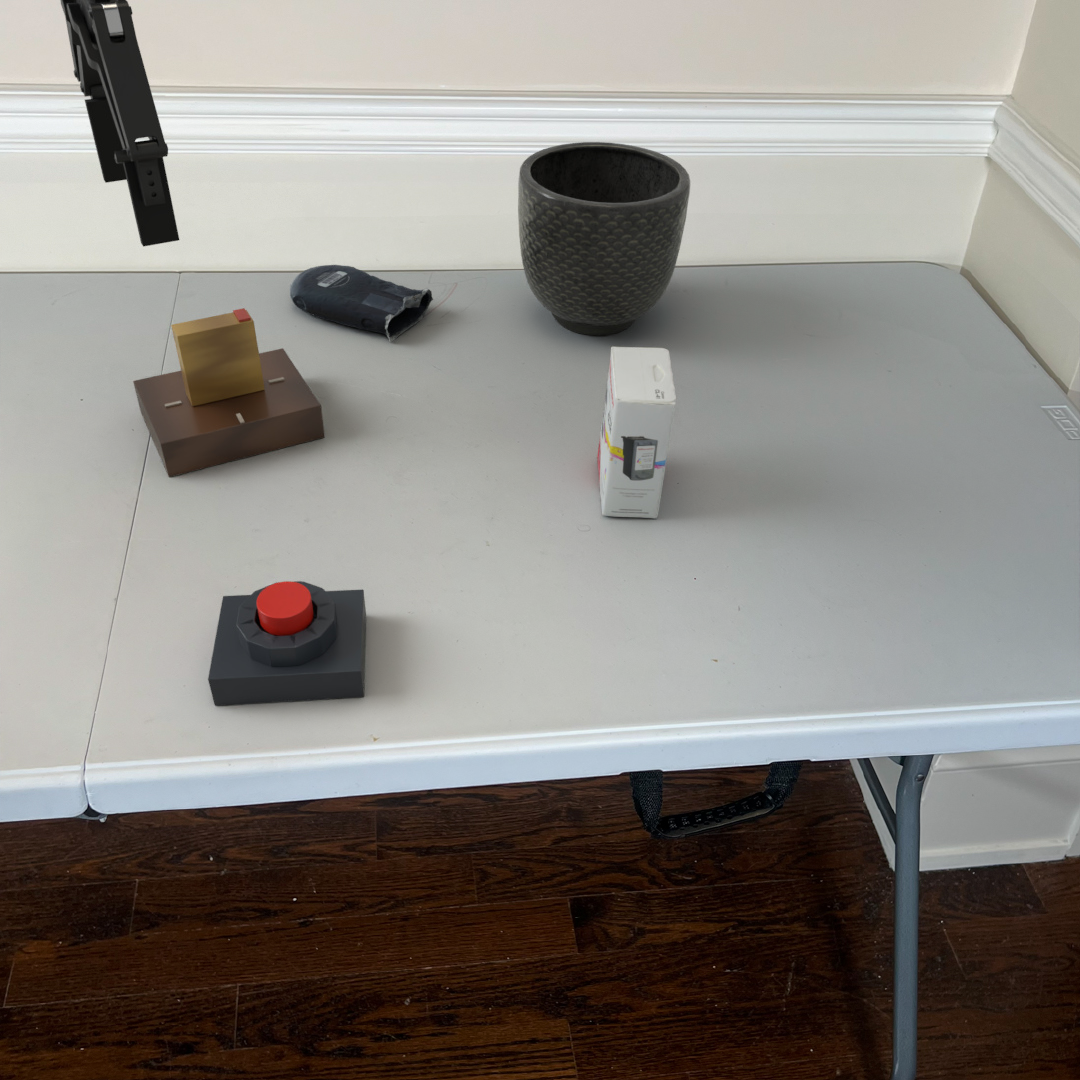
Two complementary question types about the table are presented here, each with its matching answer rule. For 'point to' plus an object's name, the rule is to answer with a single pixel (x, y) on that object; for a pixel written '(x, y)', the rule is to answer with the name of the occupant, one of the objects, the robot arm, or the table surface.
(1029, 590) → the table surface
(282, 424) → the plate
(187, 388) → the thumb turn
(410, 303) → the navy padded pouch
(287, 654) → the grey square base
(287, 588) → the button
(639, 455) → the ink box
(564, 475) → the table surface
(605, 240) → the planter
